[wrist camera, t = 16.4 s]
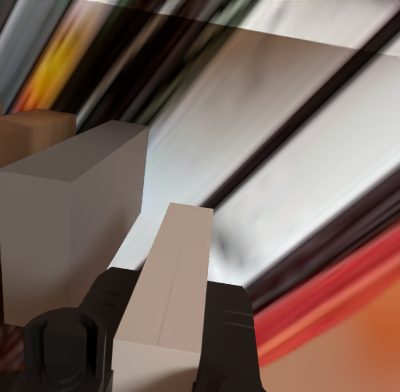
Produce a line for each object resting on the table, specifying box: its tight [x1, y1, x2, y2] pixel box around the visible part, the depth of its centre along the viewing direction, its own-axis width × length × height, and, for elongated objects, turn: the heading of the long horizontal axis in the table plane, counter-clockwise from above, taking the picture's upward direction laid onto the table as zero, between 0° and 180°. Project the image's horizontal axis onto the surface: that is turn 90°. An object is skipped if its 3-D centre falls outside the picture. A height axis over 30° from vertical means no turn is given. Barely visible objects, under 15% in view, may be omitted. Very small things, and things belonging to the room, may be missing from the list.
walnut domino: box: [0, 109, 76, 265], centre depth 15 cm, size 2×5×10 cm, turn 171°
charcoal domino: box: [0, 120, 149, 327], centre depth 15 cm, size 2×5×10 cm, turn 172°
